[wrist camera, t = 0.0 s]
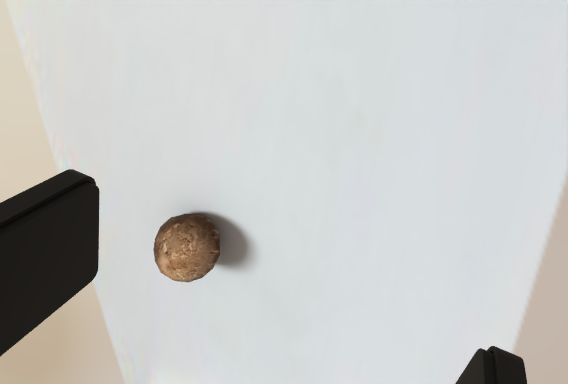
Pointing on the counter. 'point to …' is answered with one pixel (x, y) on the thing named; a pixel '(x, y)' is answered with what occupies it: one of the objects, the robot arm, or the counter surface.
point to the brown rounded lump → (186, 247)
